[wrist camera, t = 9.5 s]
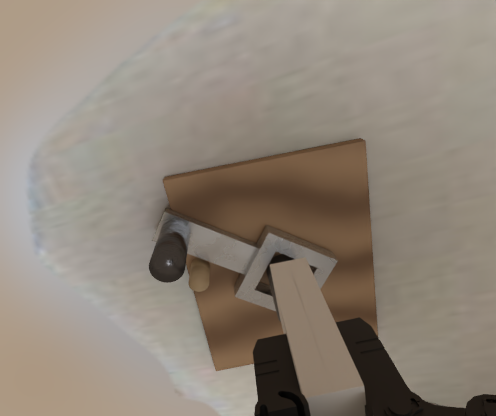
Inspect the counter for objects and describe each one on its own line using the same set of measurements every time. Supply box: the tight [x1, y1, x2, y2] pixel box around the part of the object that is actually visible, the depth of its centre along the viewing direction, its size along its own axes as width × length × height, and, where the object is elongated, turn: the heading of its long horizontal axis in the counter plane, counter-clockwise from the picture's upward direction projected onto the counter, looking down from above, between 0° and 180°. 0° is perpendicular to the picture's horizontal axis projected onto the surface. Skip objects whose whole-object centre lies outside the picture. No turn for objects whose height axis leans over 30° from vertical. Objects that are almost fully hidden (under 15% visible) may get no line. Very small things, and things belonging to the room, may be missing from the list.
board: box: [163, 138, 378, 371], centre depth 34 cm, size 22×18×8 cm
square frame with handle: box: [149, 208, 338, 311], centre depth 32 cm, size 16×7×7 cm, turn 65°
